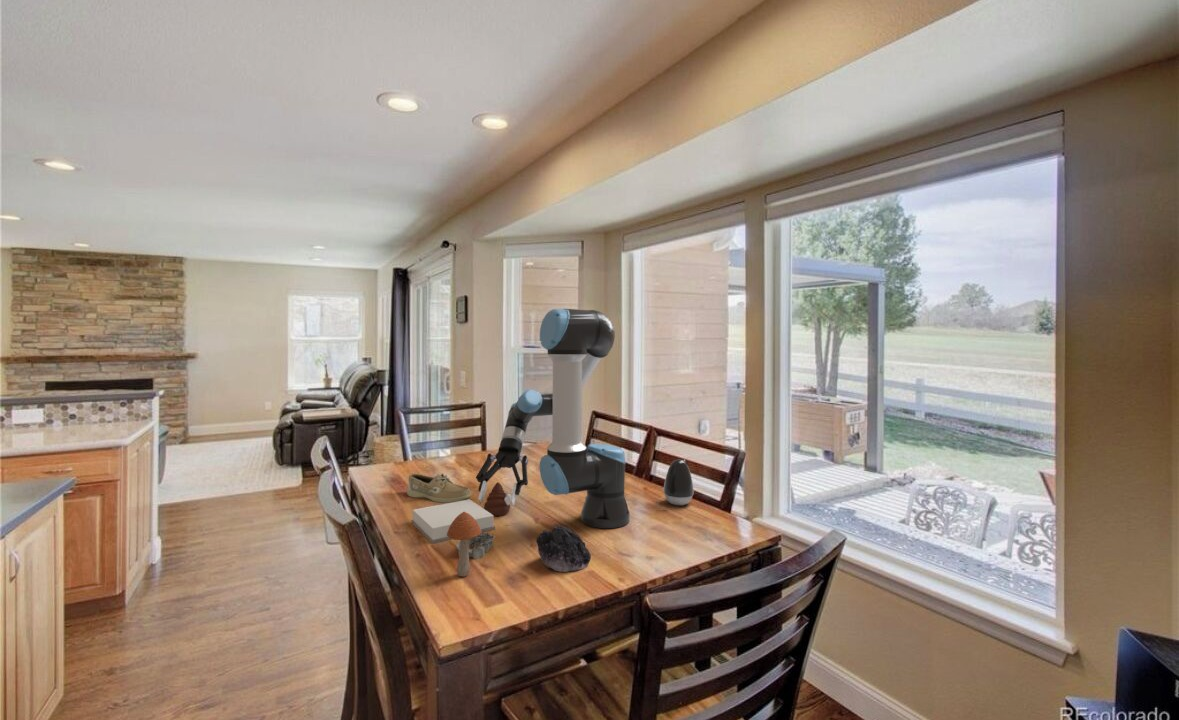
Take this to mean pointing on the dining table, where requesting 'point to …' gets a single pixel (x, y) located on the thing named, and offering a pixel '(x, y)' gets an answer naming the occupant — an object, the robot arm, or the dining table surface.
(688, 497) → the black egg shaped device
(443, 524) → the podium
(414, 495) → the boat shoe
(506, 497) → the poop emoji
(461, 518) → the mushroom
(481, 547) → the stone castle ruin
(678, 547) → the dining table surface
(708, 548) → the dining table surface
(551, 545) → the crystal cluster
